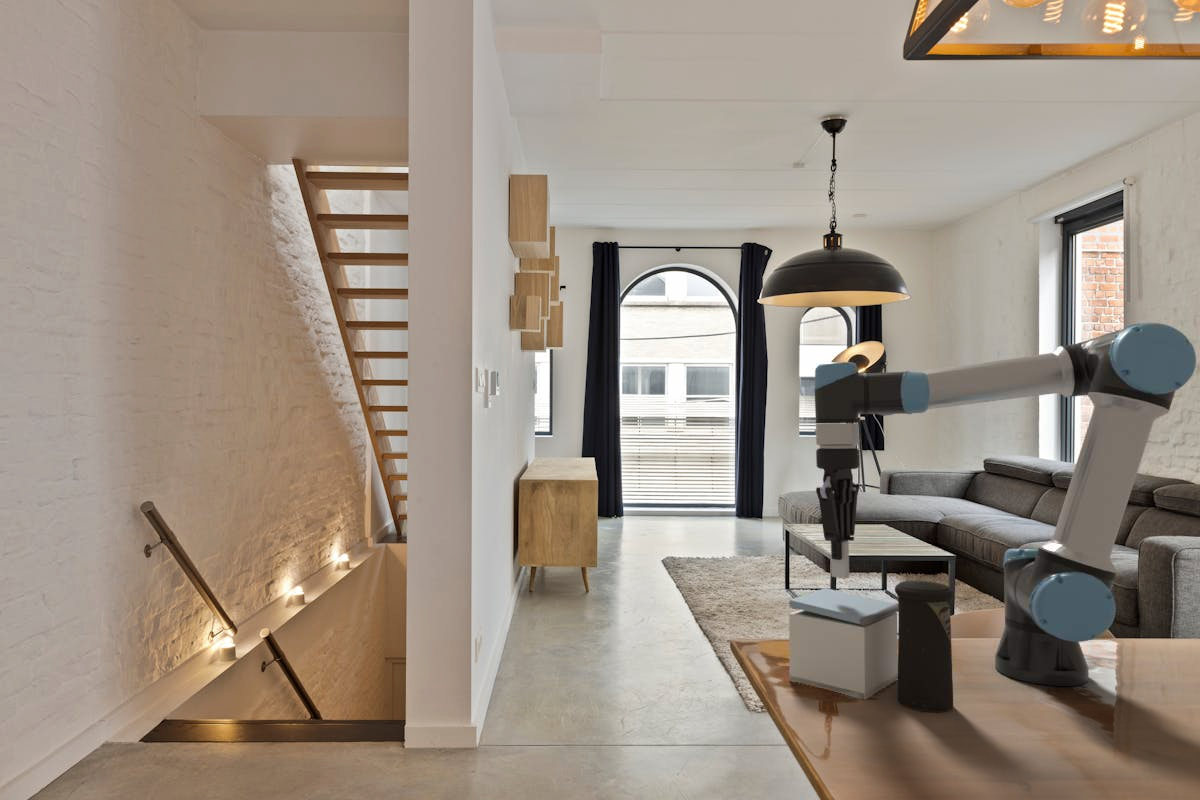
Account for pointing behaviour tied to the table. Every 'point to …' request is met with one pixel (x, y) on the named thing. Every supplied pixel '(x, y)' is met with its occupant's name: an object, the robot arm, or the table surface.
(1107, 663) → the table surface
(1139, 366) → the robot arm
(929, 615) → the container
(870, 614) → the lid
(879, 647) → the box
